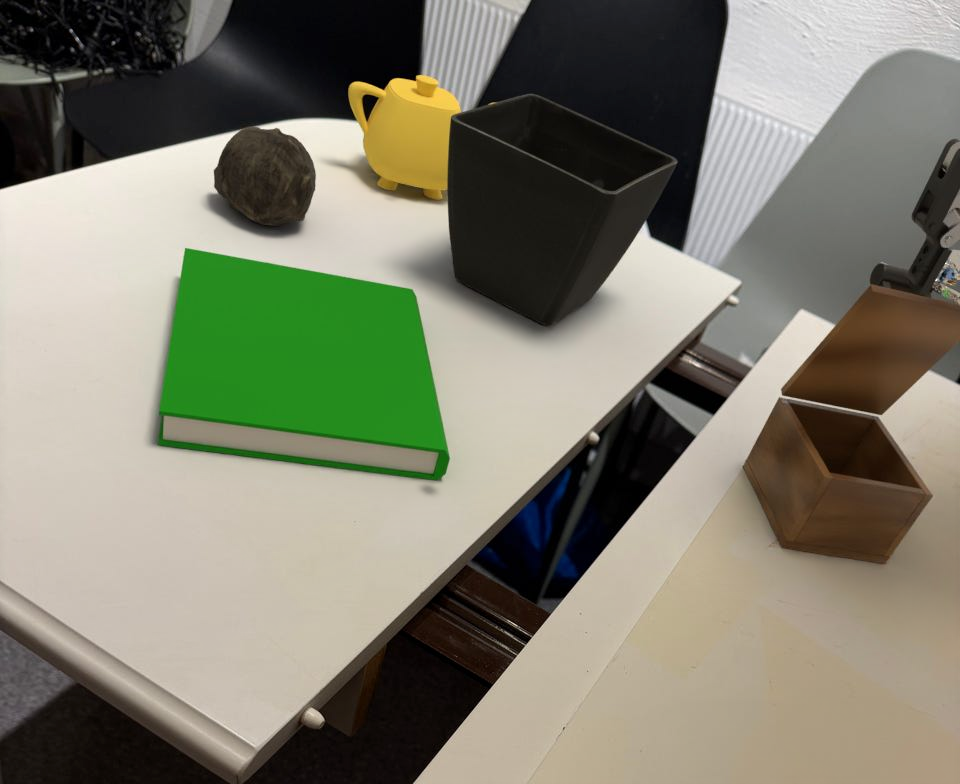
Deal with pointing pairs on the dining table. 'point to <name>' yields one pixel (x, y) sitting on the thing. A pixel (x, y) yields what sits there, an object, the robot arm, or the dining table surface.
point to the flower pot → (544, 202)
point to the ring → (949, 278)
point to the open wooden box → (834, 482)
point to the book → (300, 369)
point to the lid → (878, 346)
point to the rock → (266, 176)
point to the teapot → (407, 132)
